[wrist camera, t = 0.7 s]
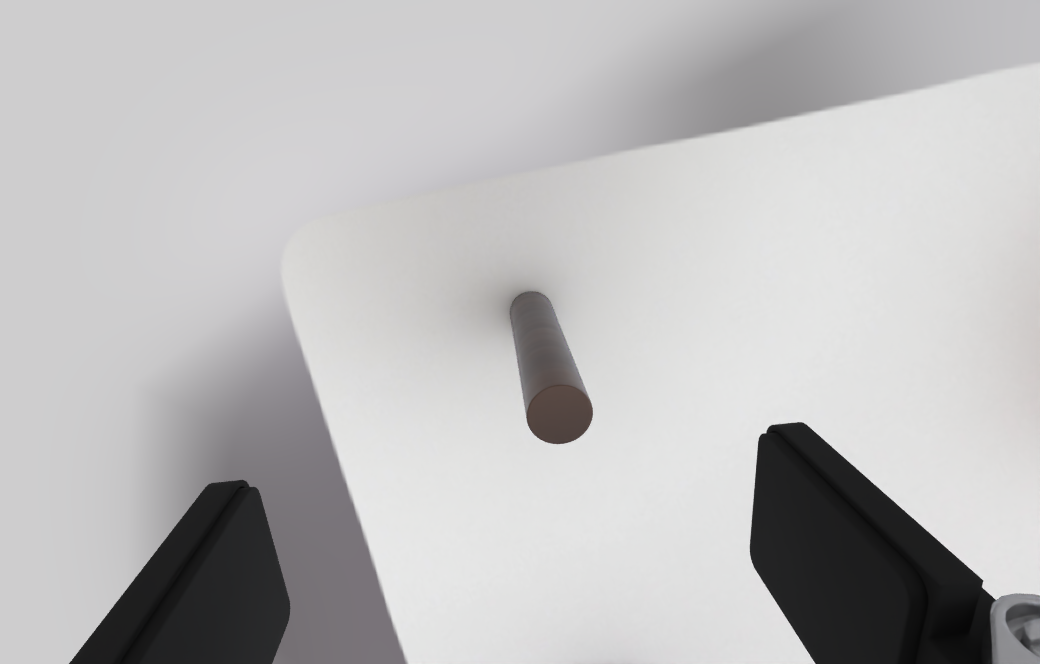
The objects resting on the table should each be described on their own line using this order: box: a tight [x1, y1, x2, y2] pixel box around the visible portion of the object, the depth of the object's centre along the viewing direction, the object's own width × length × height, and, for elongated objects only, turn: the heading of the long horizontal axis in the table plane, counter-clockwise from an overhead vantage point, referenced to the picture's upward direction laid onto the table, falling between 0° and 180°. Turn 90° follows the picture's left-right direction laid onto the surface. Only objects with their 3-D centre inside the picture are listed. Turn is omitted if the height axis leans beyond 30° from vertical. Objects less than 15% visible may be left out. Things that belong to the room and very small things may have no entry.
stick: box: [510, 292, 593, 444], centre depth 26 cm, size 2×2×12 cm
